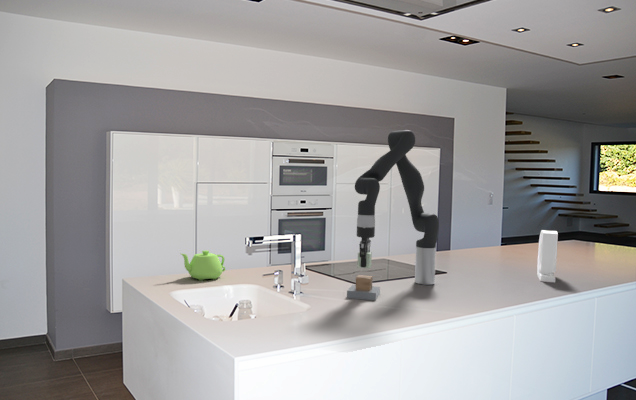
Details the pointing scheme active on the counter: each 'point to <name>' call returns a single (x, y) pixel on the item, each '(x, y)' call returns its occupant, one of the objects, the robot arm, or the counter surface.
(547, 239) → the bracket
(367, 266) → the sage block
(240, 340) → the counter surface
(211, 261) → the teapot
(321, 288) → the counter surface
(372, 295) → the slate trivet
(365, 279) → the walnut block
